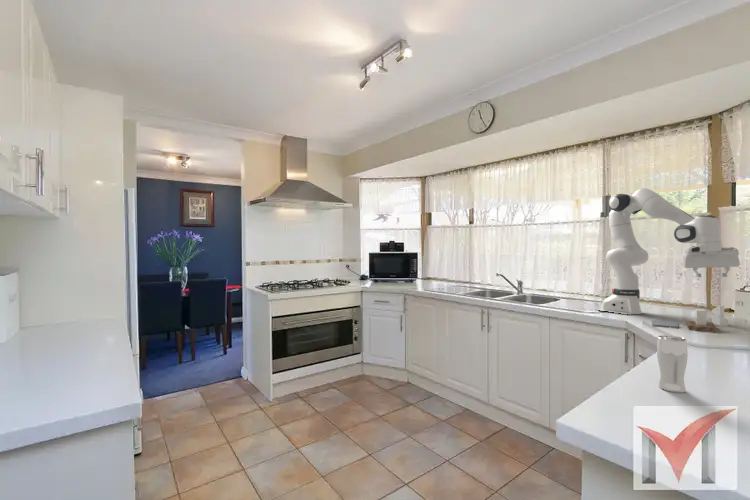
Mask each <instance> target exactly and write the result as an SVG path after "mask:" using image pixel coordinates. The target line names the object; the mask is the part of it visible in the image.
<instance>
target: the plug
mask: <svg viewBox="0 0 750 500" xmlns="http://www.w3.org/2000/svg"><path fill="white" fill-rule="evenodd" d="M694 309H695V311H694V312H695V317H694V318H695V320H694V321H695V325H705V326H707V322H708V320H707V310H706V309H704V308H694Z"/></svg>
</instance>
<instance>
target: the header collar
mask: <svg viewBox="0 0 750 500" xmlns="http://www.w3.org/2000/svg"><path fill="white" fill-rule="evenodd" d="M685 325H686V327H687V328H688V330H690V331H697V332H698V331H699V332H709V333H710V332H711V333H718V327H717V325H716V324H714V323H712V321H710V322H709V321H707V326H705V325H695V320H688V319H687V320H685Z"/></svg>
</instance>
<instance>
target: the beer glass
mask: <svg viewBox="0 0 750 500" xmlns="http://www.w3.org/2000/svg"><path fill="white" fill-rule="evenodd" d="M656 341H657V343H656V357H657V362H658V366H659V372H660V379H659V383H658V387H659V389H661V390H663V389H664V390H663V391H665V390H667V391H666V392H669V391H670V392H669V393H674V392H675V394H685V393H686V391H687V389H686V386H685V374H686V373H685V372H686V368H687V365H688V358H689V357H688V355H689V353H688V351H689V350H688V344H687V341H688V340H687V339H686V338H684V337H681V336H675V335H665V334H664V335H662V334H661V335H658V336H657V340H656Z"/></svg>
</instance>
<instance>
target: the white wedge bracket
mask: <svg viewBox="0 0 750 500" xmlns="http://www.w3.org/2000/svg"><path fill="white" fill-rule="evenodd" d="M711 322H712V323H713V324H714V325H716V326H717V325H718V326H729V325H730V324H729V323H730V320H729V318H725V305H718V306H717V307H715V308H713V309H711Z"/></svg>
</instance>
